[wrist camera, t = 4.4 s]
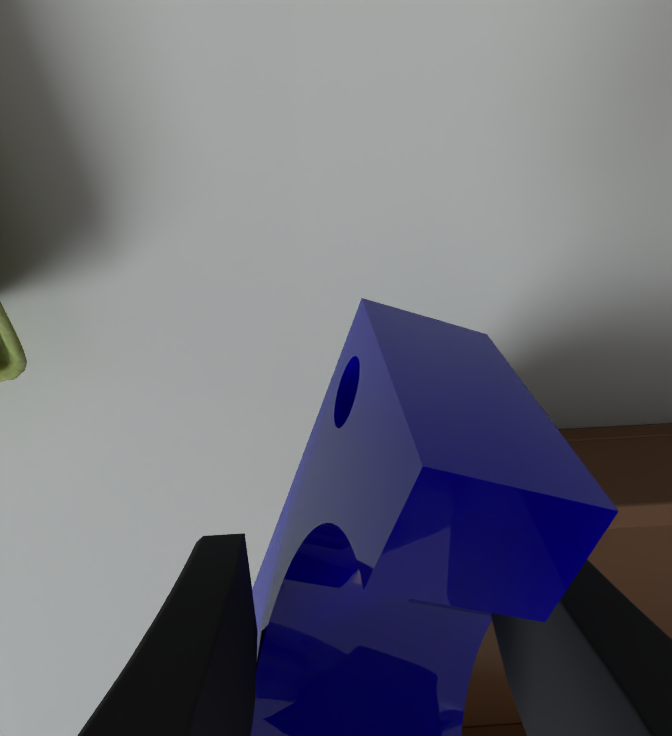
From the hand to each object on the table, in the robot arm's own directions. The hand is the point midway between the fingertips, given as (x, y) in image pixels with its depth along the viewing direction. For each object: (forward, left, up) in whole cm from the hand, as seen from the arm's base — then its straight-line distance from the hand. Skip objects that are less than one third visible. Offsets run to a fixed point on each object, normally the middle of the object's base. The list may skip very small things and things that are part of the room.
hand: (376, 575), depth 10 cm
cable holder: (0, 0, -2) cm, 2 cm away
